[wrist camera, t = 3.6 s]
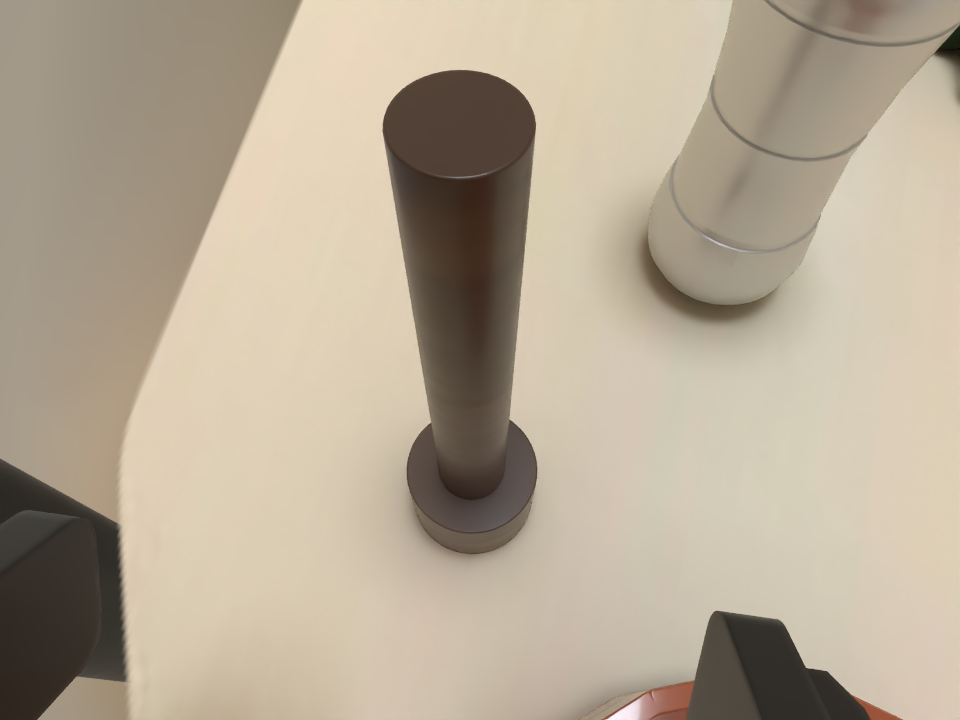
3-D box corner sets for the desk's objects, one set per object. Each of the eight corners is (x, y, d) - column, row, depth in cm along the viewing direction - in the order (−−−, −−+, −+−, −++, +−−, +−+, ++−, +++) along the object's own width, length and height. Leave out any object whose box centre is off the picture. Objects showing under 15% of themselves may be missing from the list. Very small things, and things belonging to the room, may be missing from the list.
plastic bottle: (771, 206, 32) (1126, -424, 14) (793, 330, 29) (1283, -283, 11) (633, 200, 32) (818, -430, 15) (641, 322, 29) (887, -293, 12)
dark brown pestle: (404, 544, 25) (267, 225, 9) (425, 432, 27) (343, 9, 11) (525, 561, 25) (606, 261, 9) (536, 447, 27) (619, 34, 11)
